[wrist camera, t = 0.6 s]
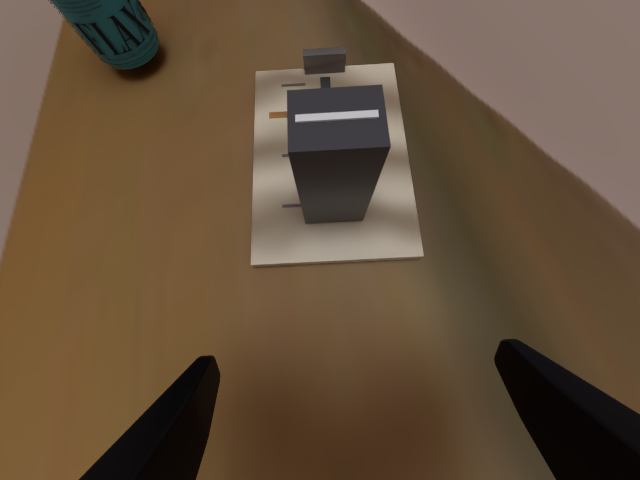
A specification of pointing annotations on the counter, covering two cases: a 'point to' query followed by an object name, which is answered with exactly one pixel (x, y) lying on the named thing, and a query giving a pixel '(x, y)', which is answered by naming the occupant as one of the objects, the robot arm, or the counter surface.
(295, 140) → the fader cap
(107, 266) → the counter surface
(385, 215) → the console panel
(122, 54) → the beverage bottle
